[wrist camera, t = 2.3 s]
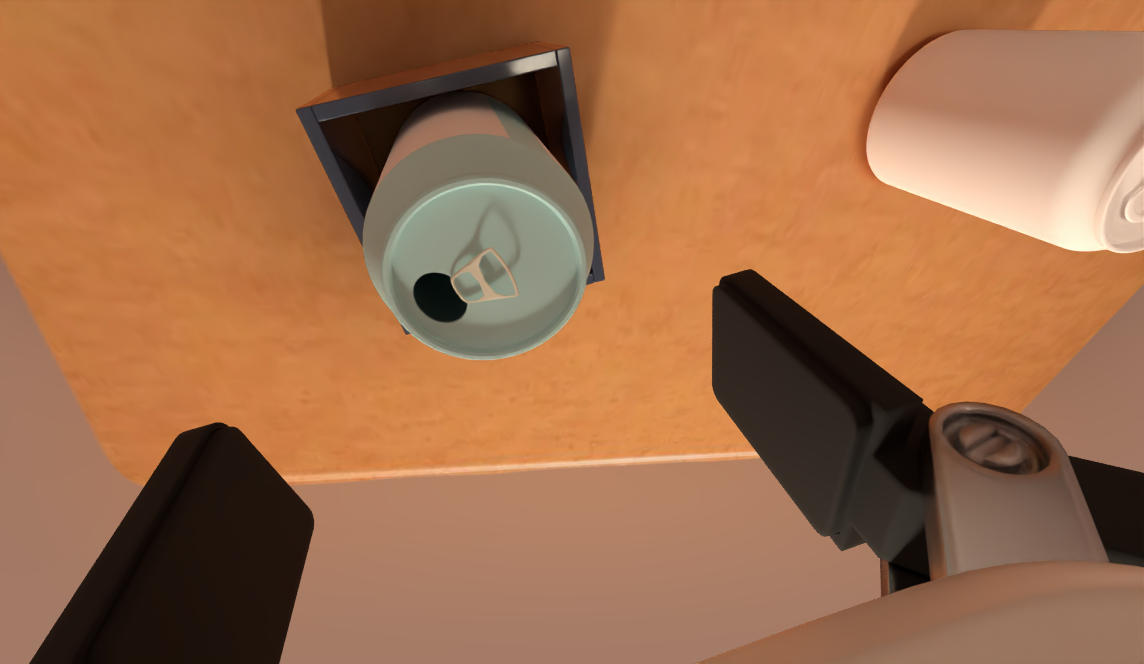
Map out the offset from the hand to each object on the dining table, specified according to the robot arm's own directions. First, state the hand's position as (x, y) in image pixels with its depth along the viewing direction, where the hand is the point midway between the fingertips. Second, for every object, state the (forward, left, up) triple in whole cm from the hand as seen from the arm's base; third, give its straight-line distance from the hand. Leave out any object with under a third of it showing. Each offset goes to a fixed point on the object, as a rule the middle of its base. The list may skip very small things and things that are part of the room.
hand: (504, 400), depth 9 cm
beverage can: (+3, +26, -17) cm, 31 cm away
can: (0, 0, -17) cm, 17 cm away
